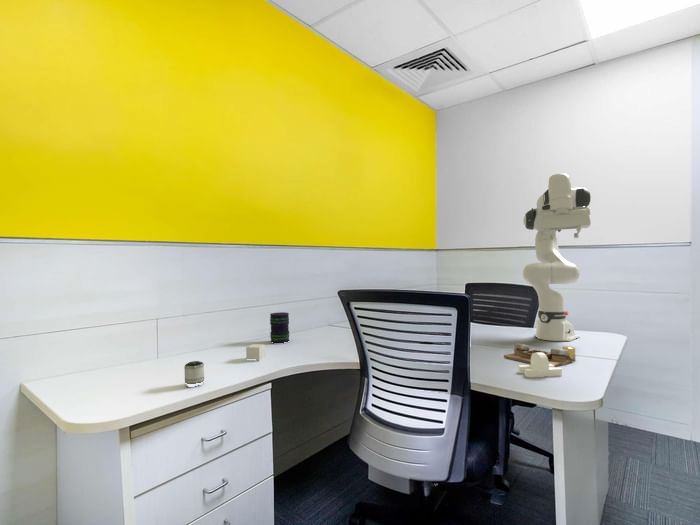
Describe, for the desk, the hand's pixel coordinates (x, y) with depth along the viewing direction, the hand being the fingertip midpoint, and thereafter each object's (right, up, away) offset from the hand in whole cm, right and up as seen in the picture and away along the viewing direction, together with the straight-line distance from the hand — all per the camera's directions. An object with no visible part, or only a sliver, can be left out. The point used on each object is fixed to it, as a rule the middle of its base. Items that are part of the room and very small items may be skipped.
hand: (563, 238), depth 160 cm
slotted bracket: (-21, -51, -22) cm, 59 cm away
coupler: (0, -50, -5) cm, 50 cm away
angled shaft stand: (-6, -50, -8) cm, 51 cm away
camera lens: (-143, -53, -27) cm, 155 cm away
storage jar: (-126, -52, +42) cm, 143 cm away
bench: (-13, -50, -4) cm, 52 cm away
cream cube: (-130, -52, +7) cm, 141 cm away
